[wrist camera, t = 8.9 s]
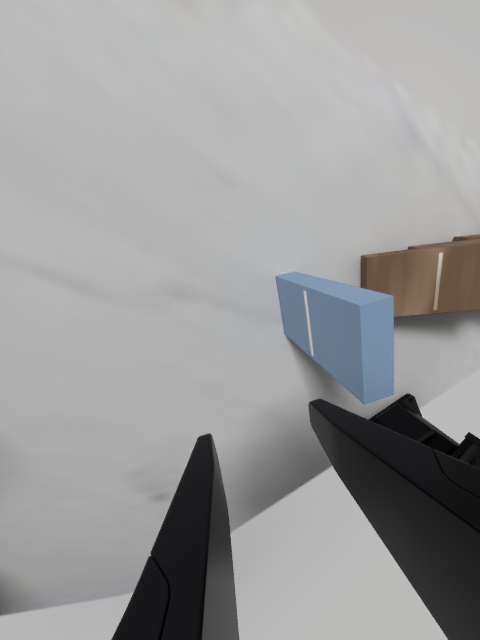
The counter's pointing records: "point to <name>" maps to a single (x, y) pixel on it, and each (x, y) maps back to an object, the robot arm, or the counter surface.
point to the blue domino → (342, 331)
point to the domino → (426, 278)
